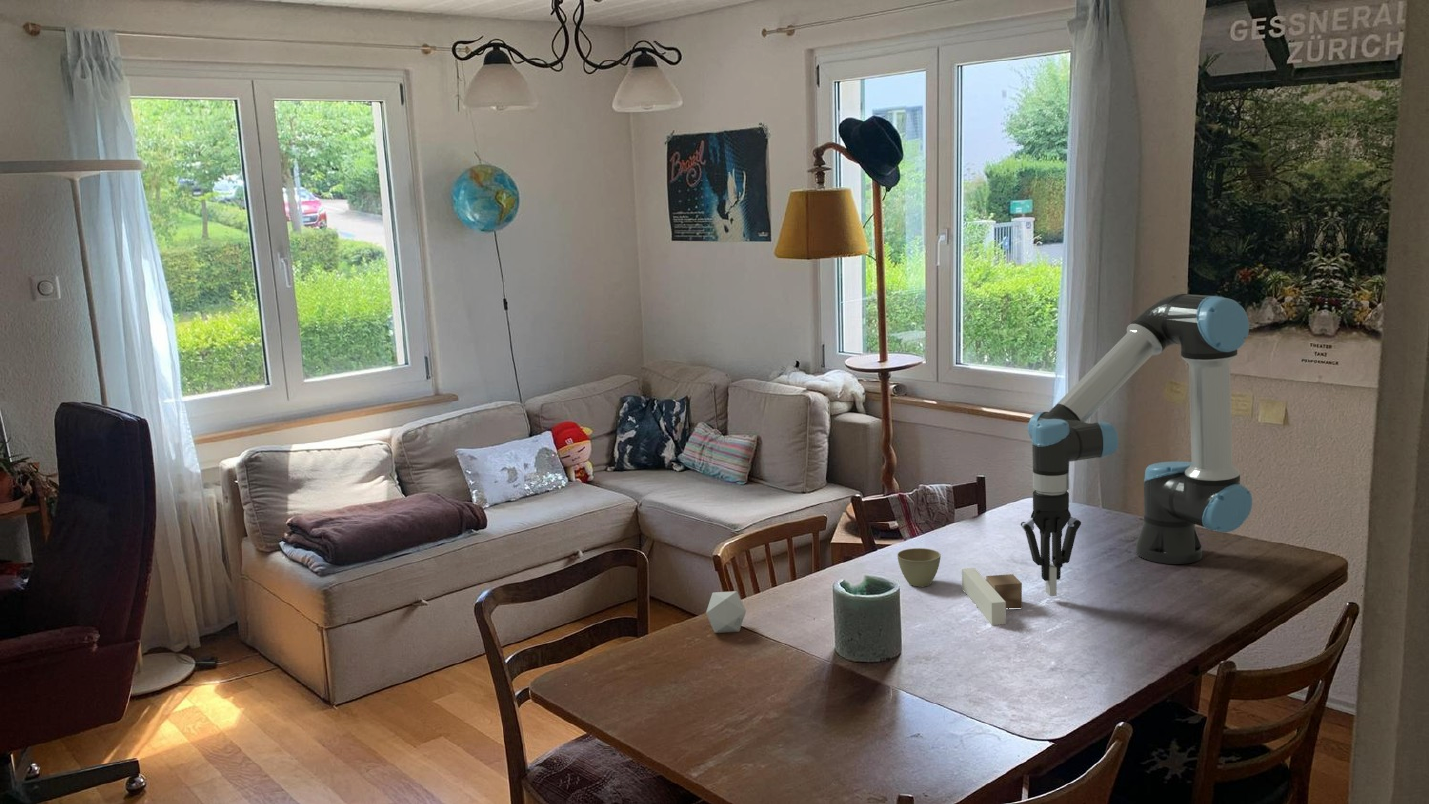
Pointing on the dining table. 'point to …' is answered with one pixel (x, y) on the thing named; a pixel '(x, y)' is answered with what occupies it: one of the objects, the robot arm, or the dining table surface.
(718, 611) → the die
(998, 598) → the board
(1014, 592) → the block
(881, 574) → the dining table surface
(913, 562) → the flower pot
